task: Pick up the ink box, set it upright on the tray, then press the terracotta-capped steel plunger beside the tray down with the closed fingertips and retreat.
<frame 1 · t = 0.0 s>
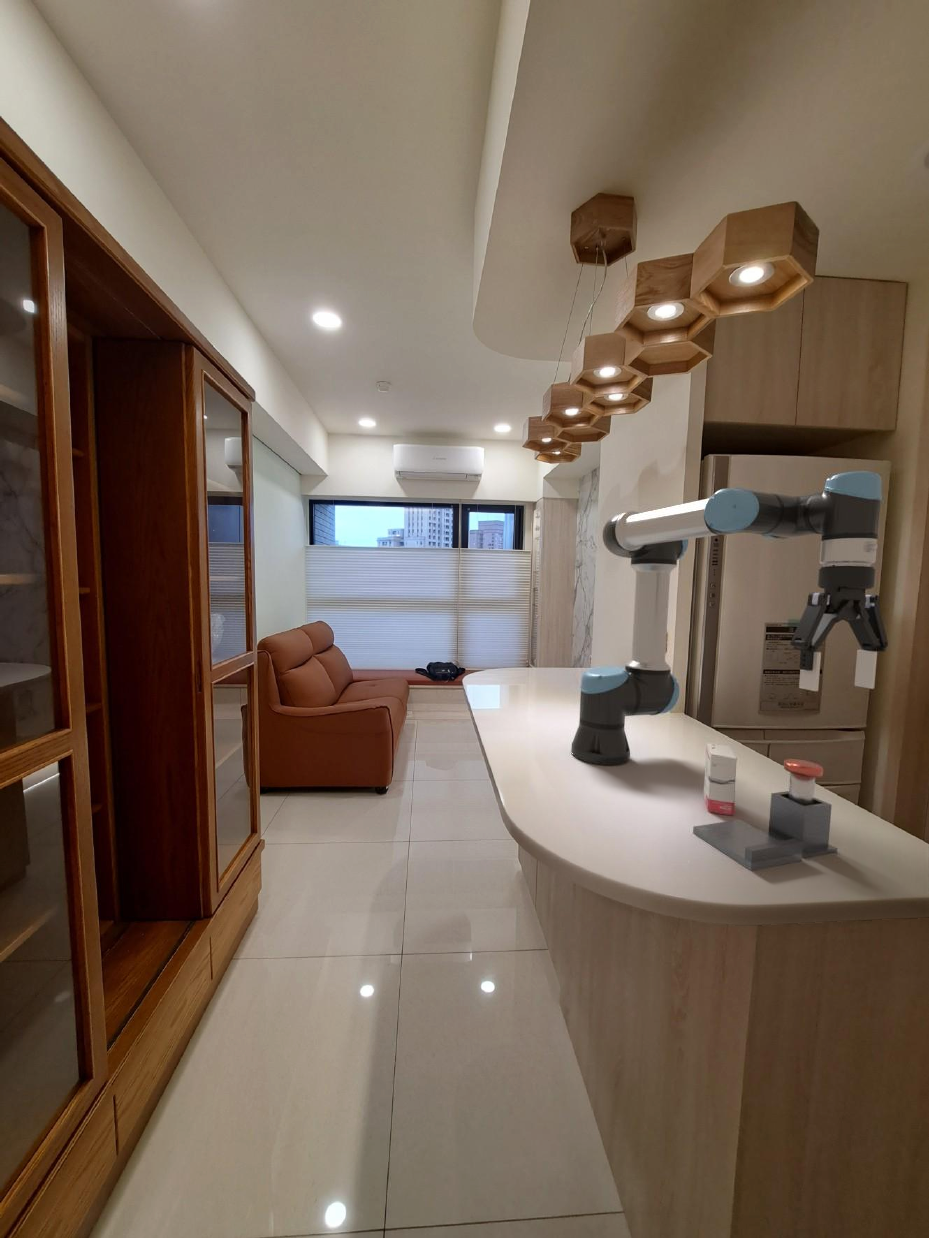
hand: (836, 688, 82), 28 cm above the countertop, fingers open, 13 cm apart
ink box: (717, 806, 98), on the countertop
tray: (744, 846, 82), on the countertop
housing: (797, 842, 84), on the countertop
plunger: (801, 790, 83), point 10 cm above the countertop, slide at 0.0 cm
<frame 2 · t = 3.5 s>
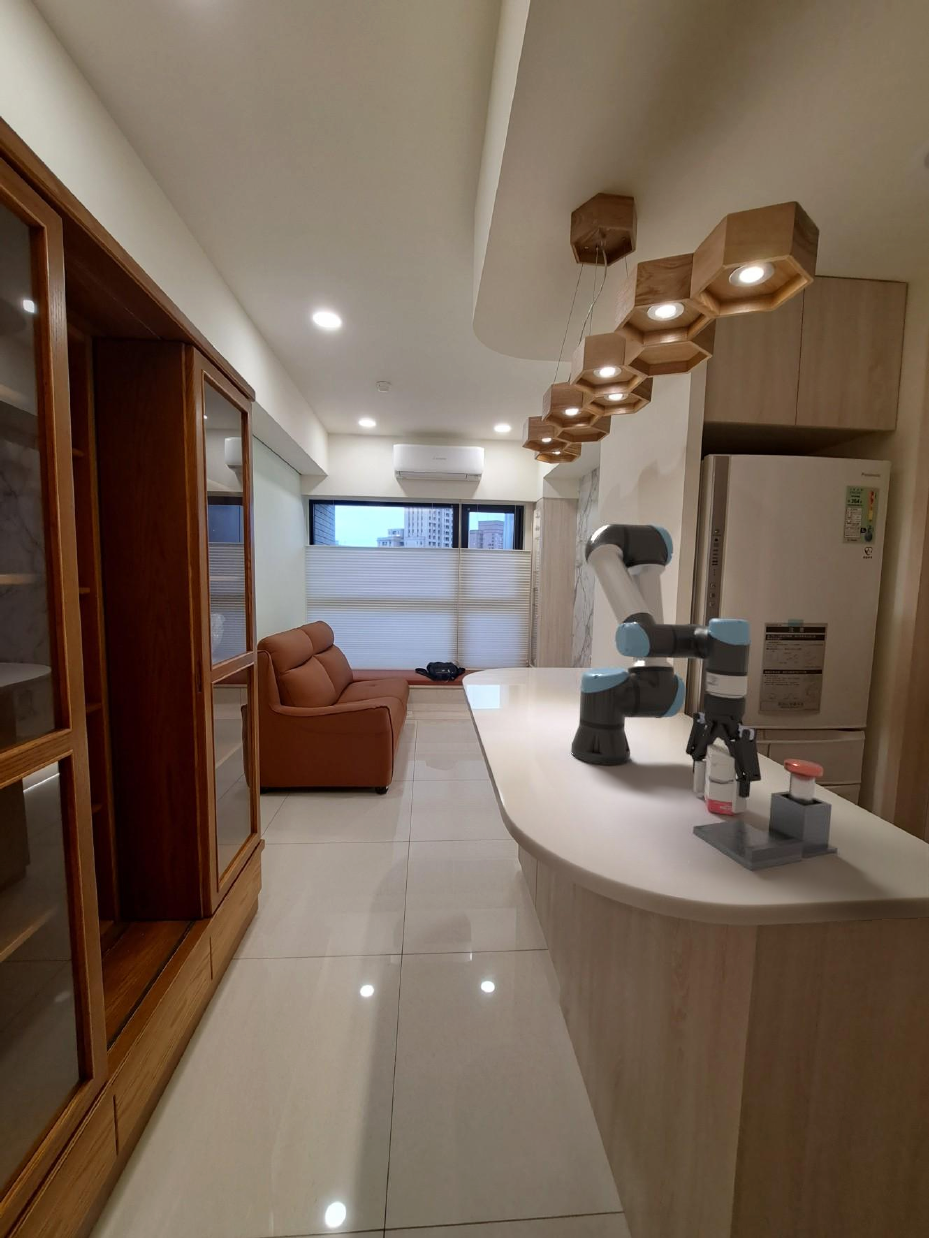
hand: (718, 800, 98), 1 cm above the countertop, fingers closed on ink box, 9 cm apart
ink box: (717, 806, 98), on the countertop, touching gripper
everything else where it was.
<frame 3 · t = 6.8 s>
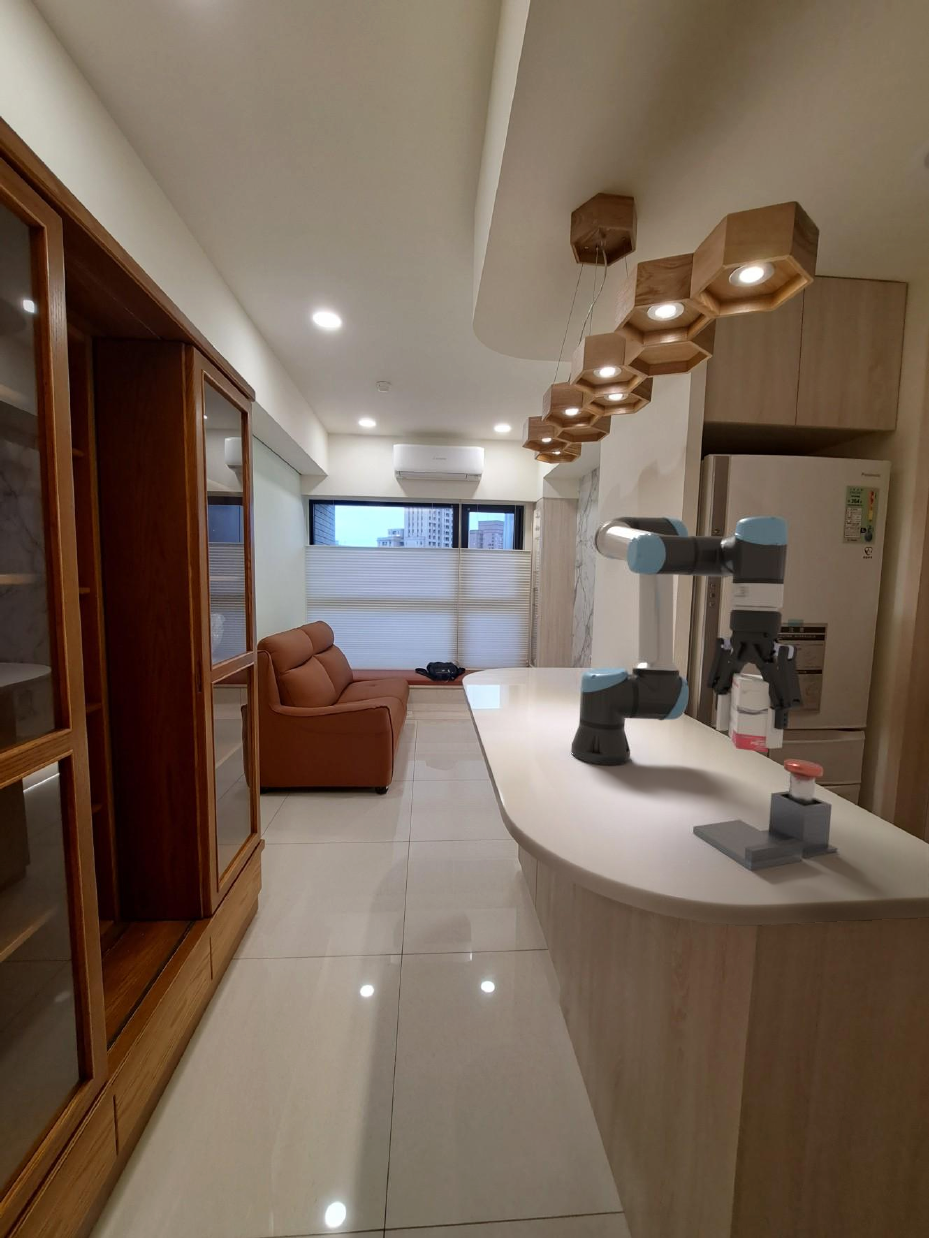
hand: (747, 738, 82), 19 cm above the countertop, fingers closed on ink box, 9 cm apart
ink box: (746, 745, 82), point 18 cm above the countertop, touching gripper
everything else where it was.
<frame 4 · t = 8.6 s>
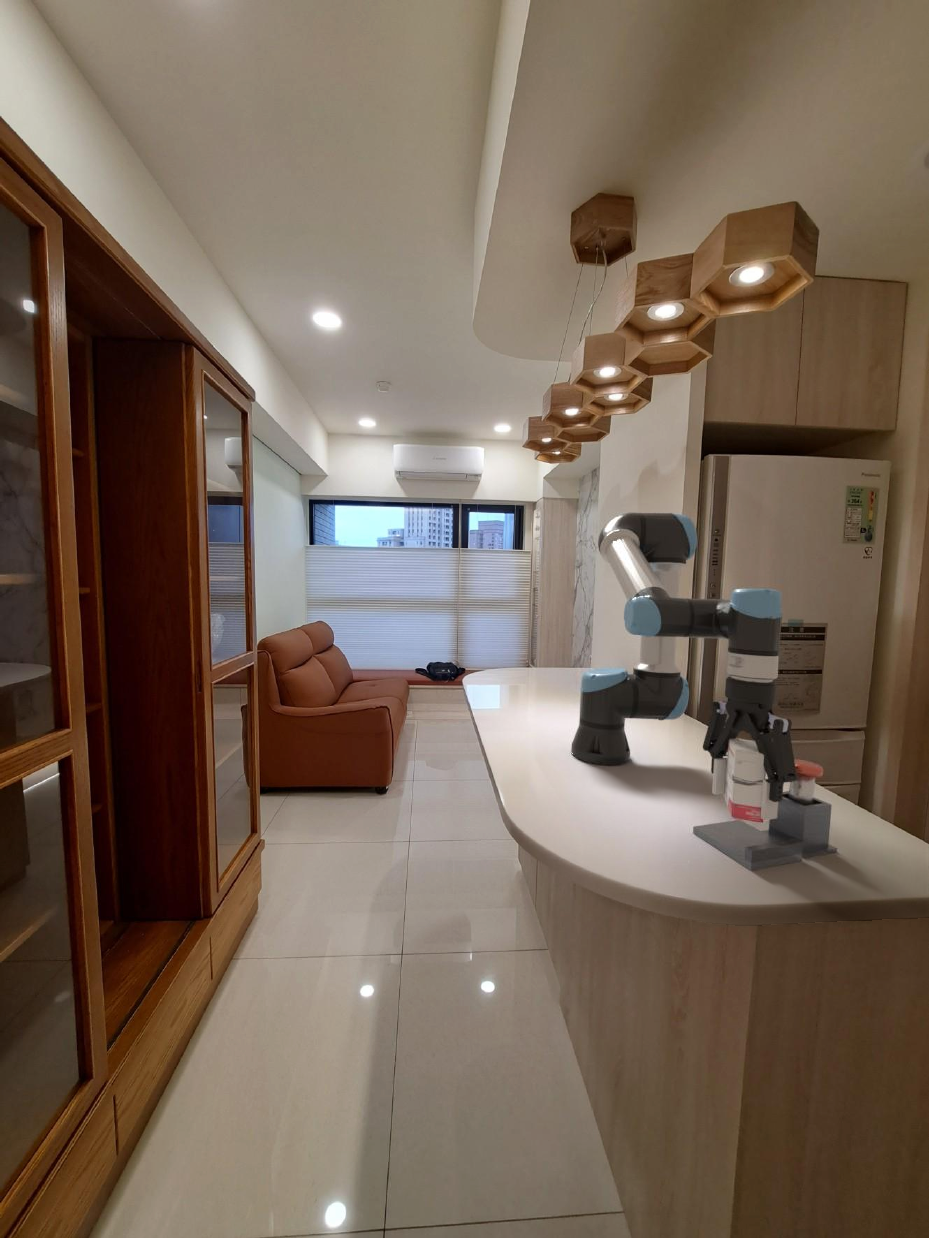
hand: (742, 804, 82), 7 cm above the countertop, fingers closed on ink box, 9 cm apart
ink box: (742, 811, 82), point 6 cm above the countertop, touching gripper
everything else where it was.
when the fingers open (4 cm above the countertop, at t = 10.1 s): ink box drops 2 cm, resting on tray.
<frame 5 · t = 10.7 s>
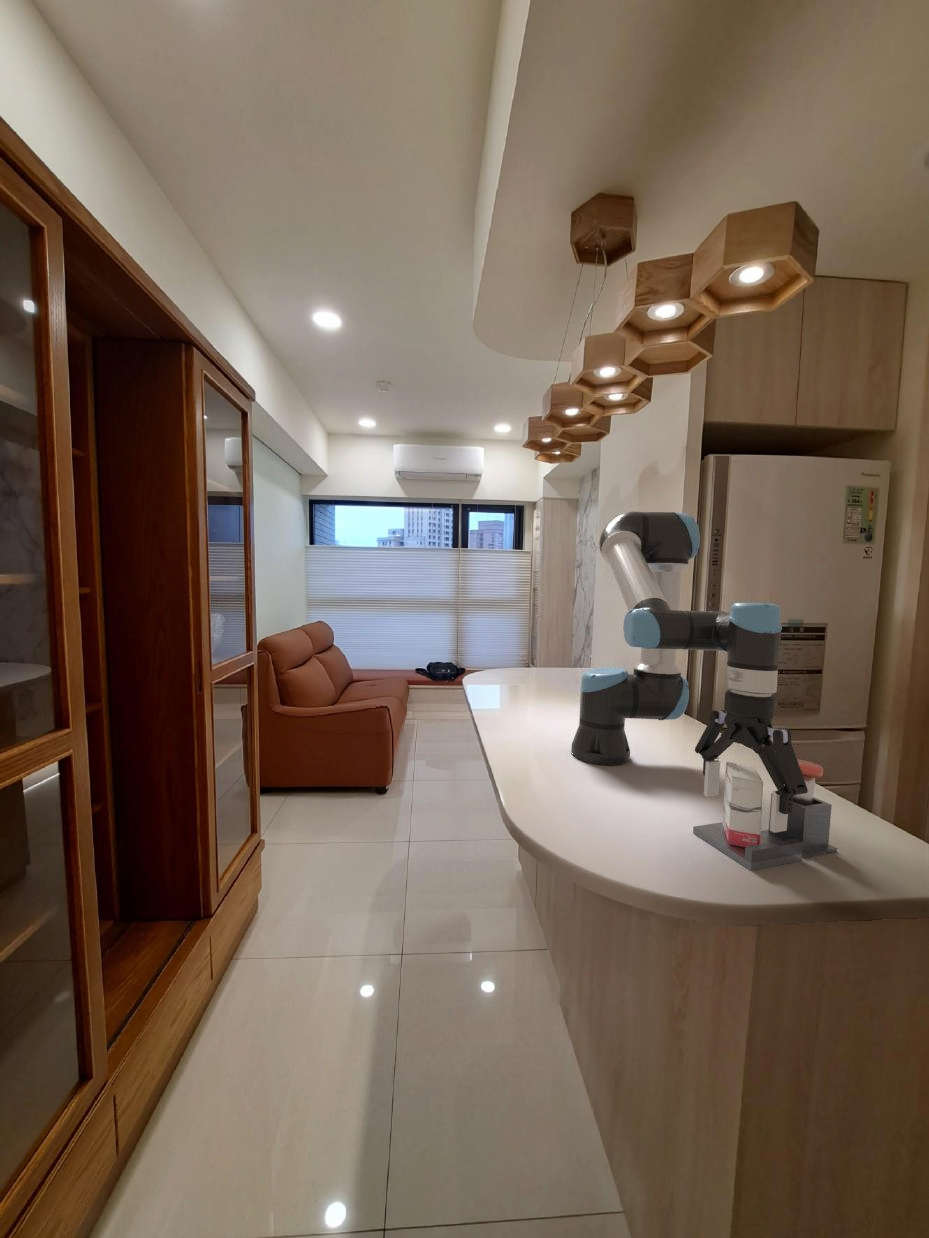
hand: (741, 811, 83), 6 cm above the countertop, fingers open, 13 cm apart
ink box: (739, 837, 83), point 1 cm above the countertop, touching tray
everything else where it was.
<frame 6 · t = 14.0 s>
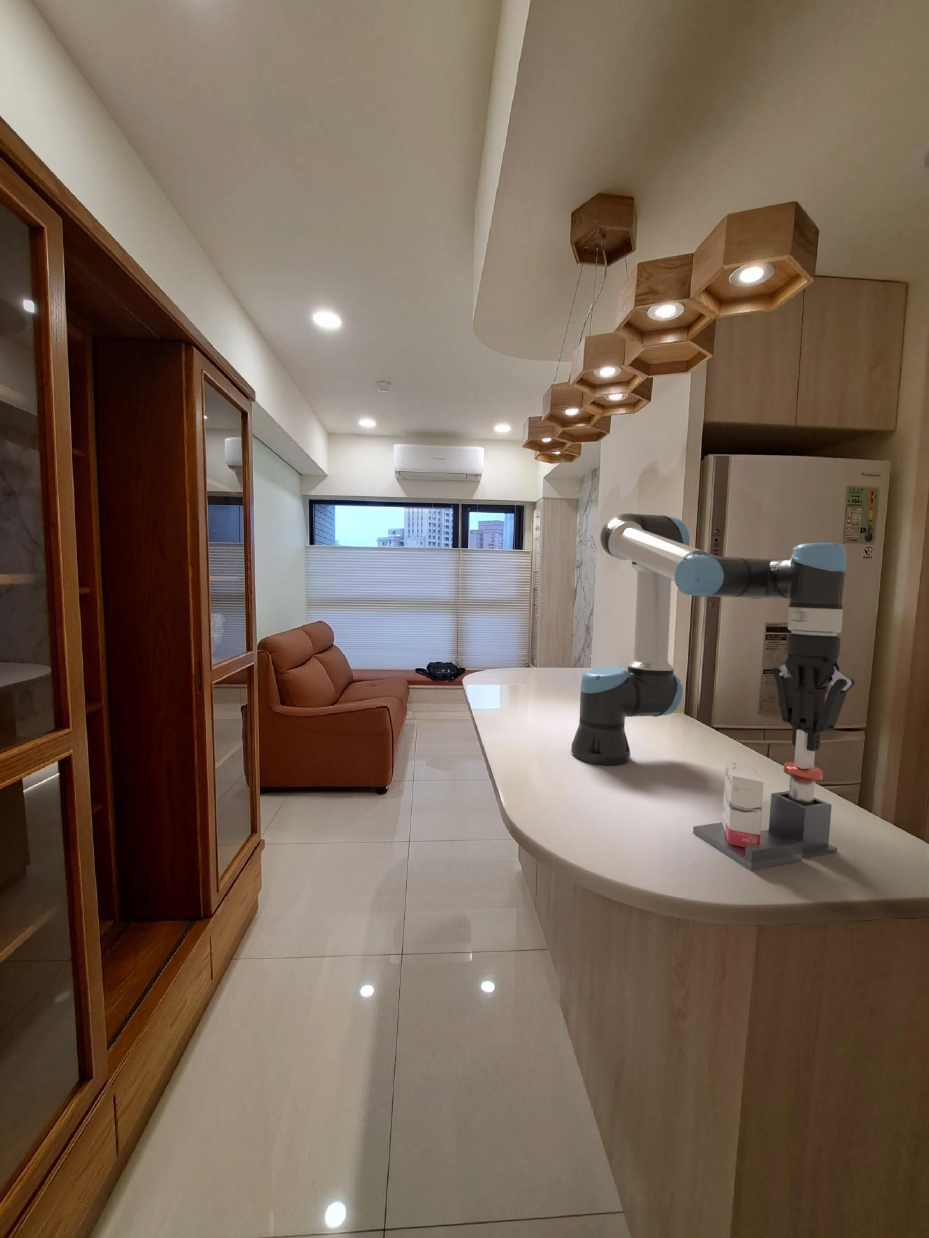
hand: (803, 766, 83), 14 cm above the countertop, fingers closed
plunger: (801, 793, 83), point 9 cm above the countertop, slide at 0.6 cm, touching gripper
everything else where it was.
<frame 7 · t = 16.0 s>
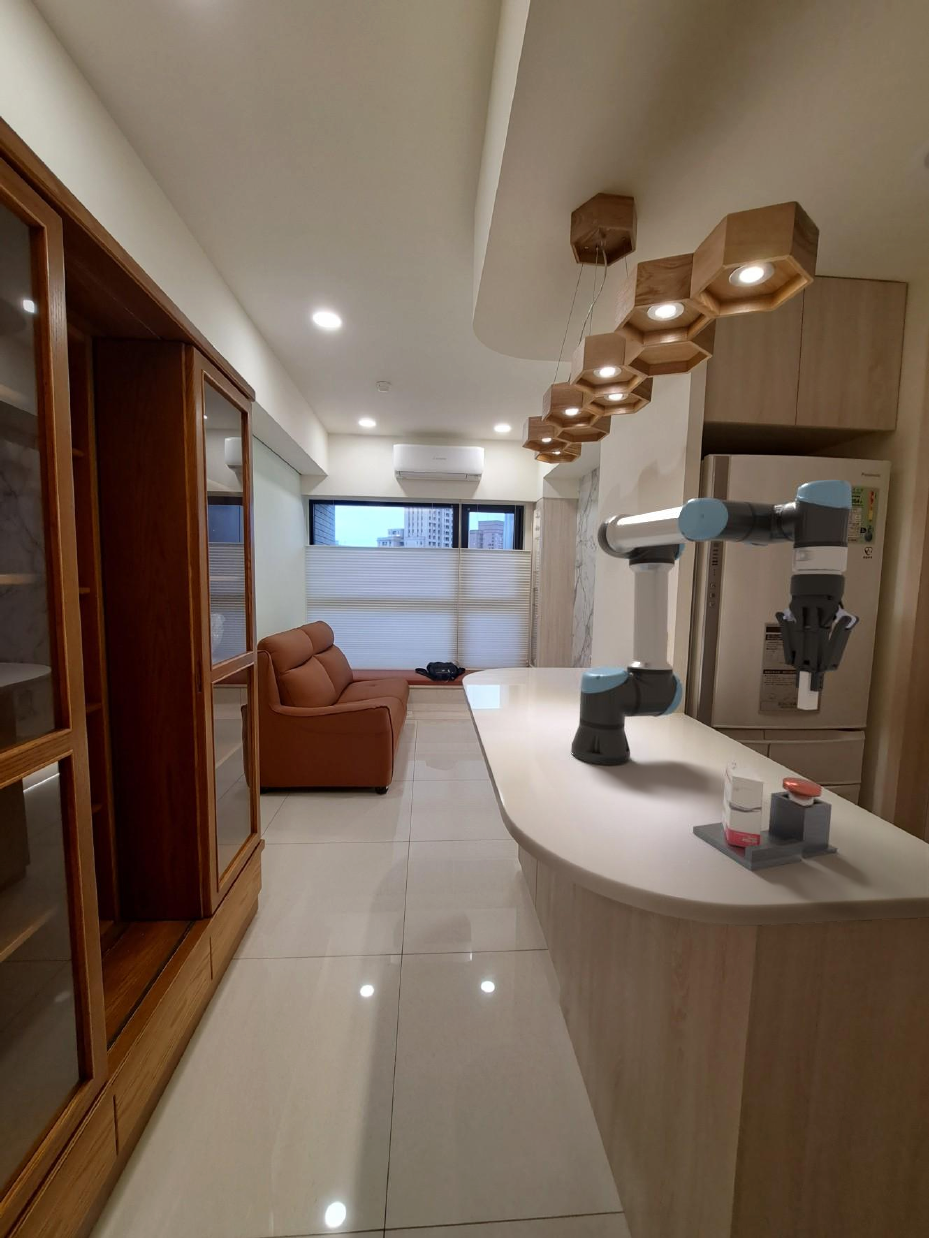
hand: (807, 708, 82), 24 cm above the countertop, fingers closed
plunger: (800, 808, 83), point 6 cm above the countertop, slide at 3.4 cm
everything else where it was.
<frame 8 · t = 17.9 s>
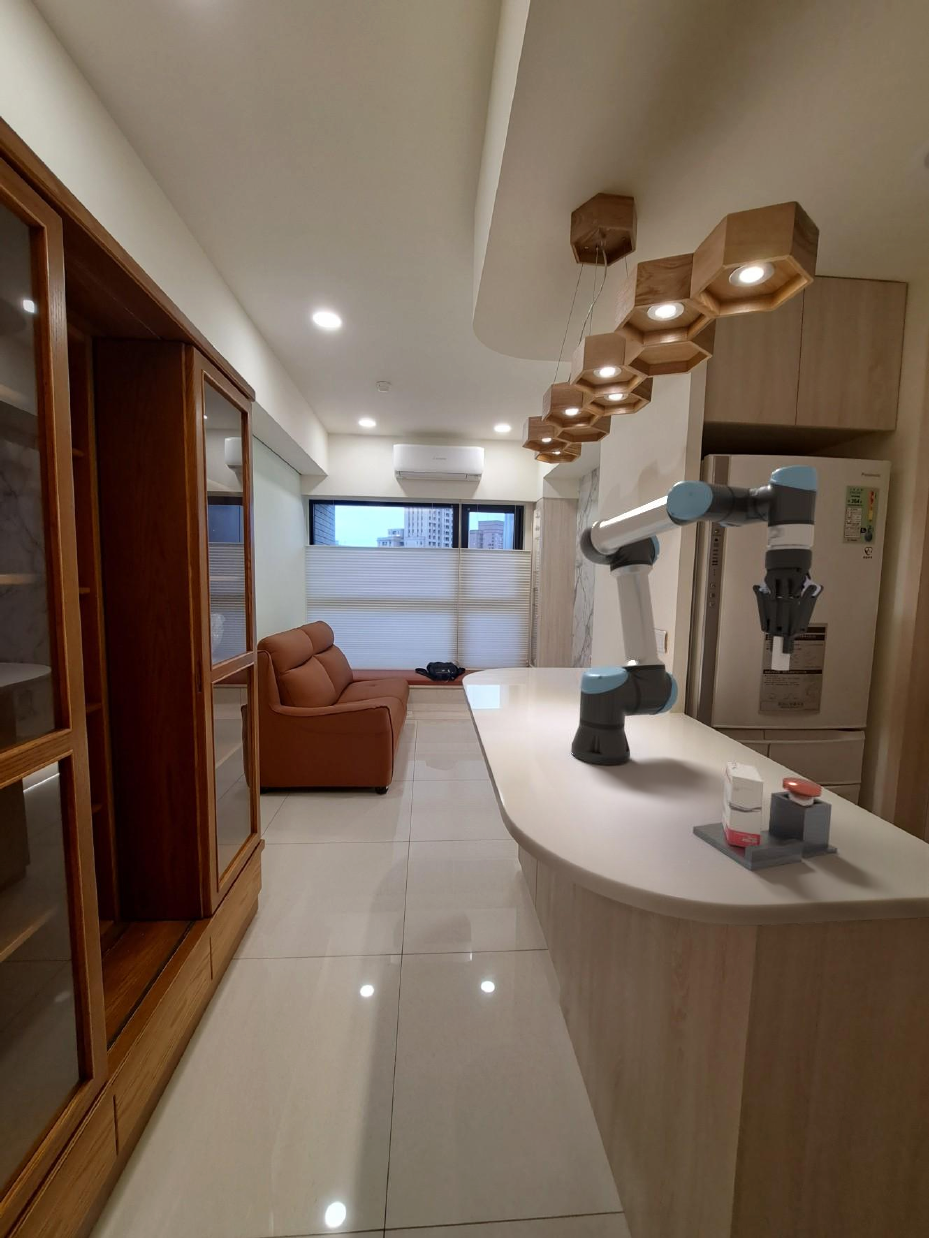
hand: (780, 669, 93), 29 cm above the countertop, fingers closed
nothing on the countertop moved.
at the end: ink box inside the target area on the tray (0.7 cm from its centre), point 1.0 cm above the tray's base; ink box tilted 0°; plunger slide at 3.4 cm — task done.
